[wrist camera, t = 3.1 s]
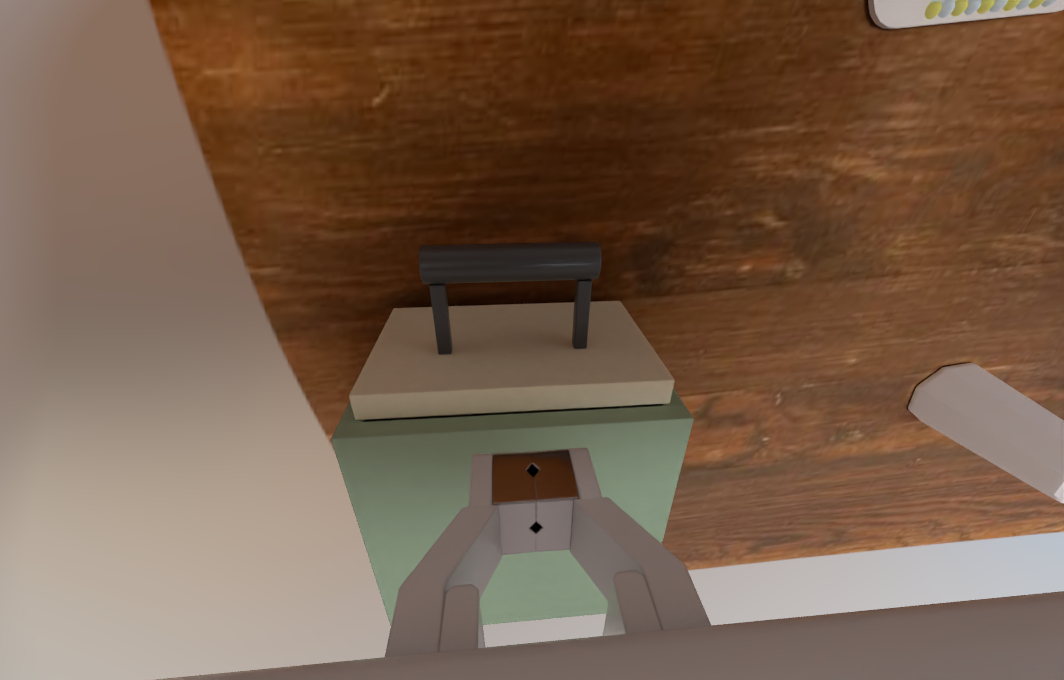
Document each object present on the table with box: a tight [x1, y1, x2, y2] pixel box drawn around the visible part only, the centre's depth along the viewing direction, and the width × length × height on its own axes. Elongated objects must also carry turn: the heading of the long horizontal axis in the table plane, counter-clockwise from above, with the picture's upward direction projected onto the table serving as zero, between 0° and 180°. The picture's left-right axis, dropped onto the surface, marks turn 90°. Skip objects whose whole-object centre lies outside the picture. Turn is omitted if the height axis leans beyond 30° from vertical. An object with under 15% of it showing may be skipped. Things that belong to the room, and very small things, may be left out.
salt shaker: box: [908, 363, 1064, 503], centre depth 25 cm, size 5×5×11 cm
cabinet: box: [331, 388, 693, 625], centre depth 23 cm, size 14×14×10 cm
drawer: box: [349, 242, 674, 420], centre depth 21 cm, size 17×13×8 cm
